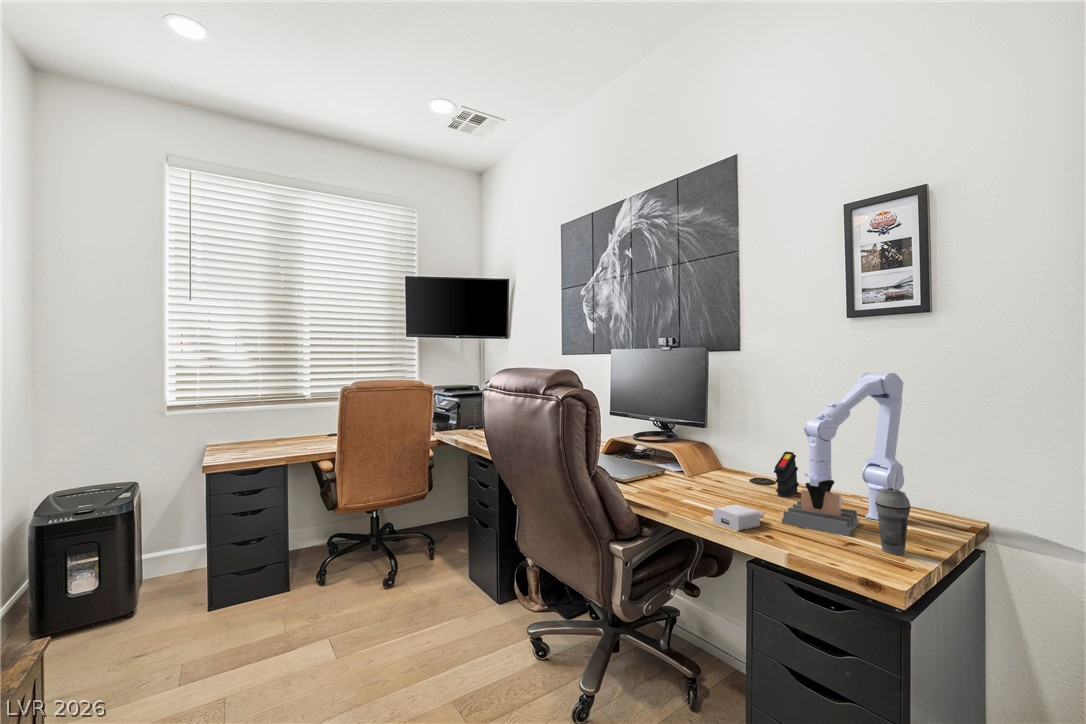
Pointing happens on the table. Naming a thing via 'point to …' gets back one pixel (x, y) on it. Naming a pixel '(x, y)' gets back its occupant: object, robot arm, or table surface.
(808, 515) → the rack
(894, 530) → the beverage cup
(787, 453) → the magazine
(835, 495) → the plate
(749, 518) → the charger
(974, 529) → the table surface
